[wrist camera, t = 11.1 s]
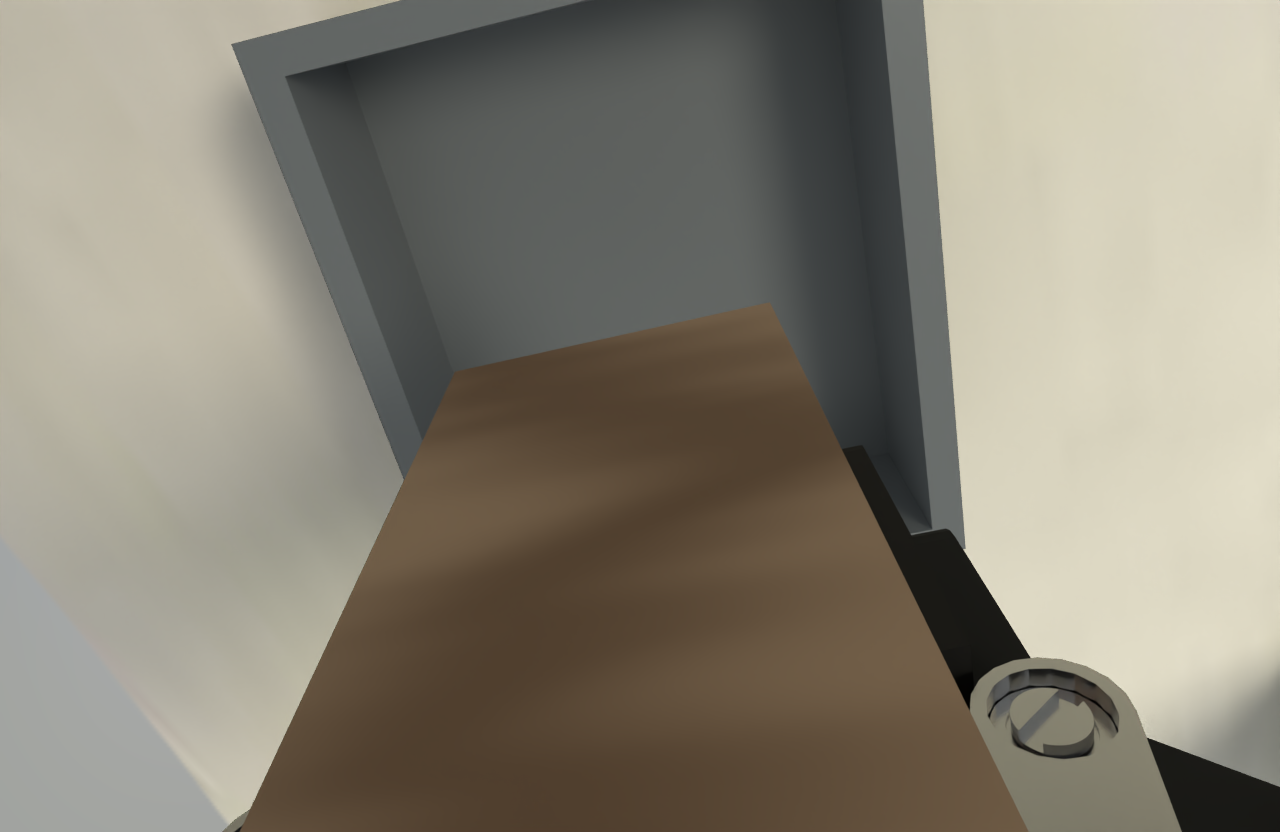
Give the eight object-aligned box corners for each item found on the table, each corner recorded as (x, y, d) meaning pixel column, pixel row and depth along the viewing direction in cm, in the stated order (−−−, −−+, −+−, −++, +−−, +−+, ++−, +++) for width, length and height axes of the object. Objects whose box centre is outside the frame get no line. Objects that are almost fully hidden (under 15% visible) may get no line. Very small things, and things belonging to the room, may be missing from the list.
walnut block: (770, 301, 12) (1080, 942, 4) (827, 640, 14) (1090, 1464, 6) (455, 372, 12) (119, 1090, 4) (564, 690, 15) (490, 1528, 7)
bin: (850, -104, 21) (913, -132, 16) (909, 458, 27) (965, 548, 23) (312, 35, 22) (231, 44, 17) (494, 541, 28) (468, 643, 24)
